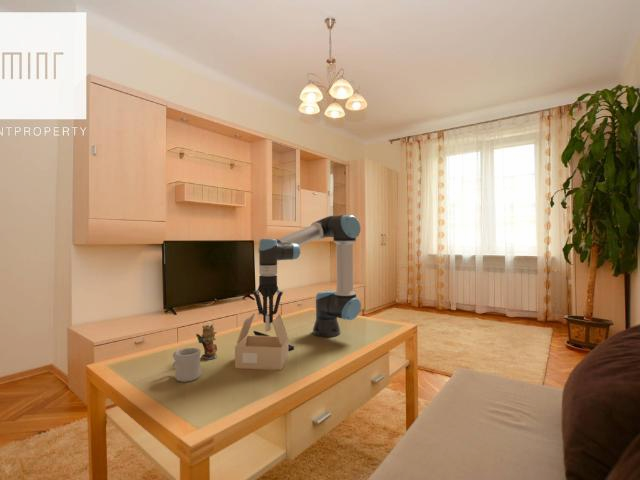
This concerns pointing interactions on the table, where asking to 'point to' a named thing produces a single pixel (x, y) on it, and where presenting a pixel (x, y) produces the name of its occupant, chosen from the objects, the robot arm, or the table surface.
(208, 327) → the figurine
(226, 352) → the table surface
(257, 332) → the game console
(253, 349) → the carton
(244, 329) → the left flap
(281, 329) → the right flap
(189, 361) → the mug
